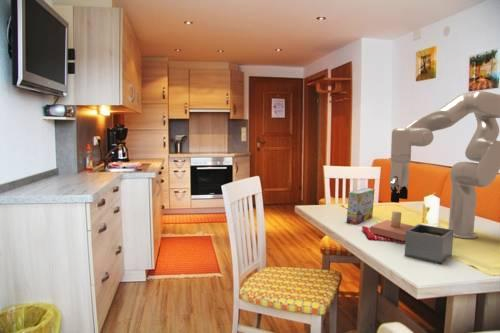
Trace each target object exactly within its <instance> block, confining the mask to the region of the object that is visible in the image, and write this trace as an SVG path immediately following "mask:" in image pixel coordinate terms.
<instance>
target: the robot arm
mask: <svg viewBox="0 0 500 333" xmlns="http://www.w3.org/2000/svg"><path fill="white" fill-rule="evenodd" d="M472 113H473V114H474V117H475V120H476V123H477V124H476V129H475V132H474V133H473V135H472V137H471V139H470V140H469V143H468V144H467V146H466V149H465V152H464V155H465V157H466V158H467V159H468V160H469V161H459V162H456V163H454V164H453V165H452V167H451V168H450V170H449V171H450V172H449V176H450V184H451V185H450V187H451V189H450V190H451V192H450V193H451V194H450V206H449V217H448V229H450V230H454V233H453V238H460V239H467V240H468V239H471V240H472V239H477V238H478V234H477V232H475V220H476V219H475V218H476V208H477V207H476V206H477V196H478V195H477V190H476V187H477V188H487V187H489V186H490V185H491V184H492V183H493V182H494V180H495V179H496V177H497V176H498V174H499V172H500V141H499V140H497V139H498V137H499V135H500V126H499V123H498V121H497V119H500V94H499V93H493V92H490V91H489V92H488V91H484V90H479V91H478V90H477V91H469V92H463V93H461V94H459V95H457V96H456V97H454V98H453V99H451V101H449V102H448V103H446V104H445V105H443V106H442V107H440V108H439V109H437V110H436V111H432V112H431V113H428V114H427V115H425V116H422V117H420V118H419V119H416V120H414V121H413V122H412V123H410V124H409V125H408V126H406V127H405V128H403V127H401V128H394V129H392V131H391V142H390V143H391V147H390V148H391V149H390V163H391V164H390V165H391V166H390V170H389V171H390V172H389V181H388V184H389V187H390V203H396V204H399V203H400V200H408V195H409V193H408V192H409V190H408V189H409V182H410V164H411V162H412V161H411V160H412V159H411V157H412V147H427V146H429V145H430V144H432V142H433V140H434V133H433V132H436V131H440V130H445V129H448V128H451V127H452V126H454V125H455V124H457V123H458V122H459V121H461V120H463V118H465V117H466V116H468V115H470V114H472Z"/></svg>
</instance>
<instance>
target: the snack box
mask: <svg viewBox="0 0 500 333" xmlns="http://www.w3.org/2000/svg"><path fill="white" fill-rule="evenodd" d="M374 198H375V189H374V188H371V187H370V188H369V187H363V188H359V189H355V190H352V191H349V192H348V199H347V209H346V210H347V214H346V223H347V224H351V225H356V226H357V225H359V224H361V223H363V222H366V221H367V220H368V221H369V219H372V218H373V213H374V202H375V200H374Z"/></svg>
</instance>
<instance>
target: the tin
mask: <svg viewBox="0 0 500 333" xmlns="http://www.w3.org/2000/svg"><path fill="white" fill-rule="evenodd" d="M413 226H414V227H412V228H410V229H409V230H407V231H406V240H405V243H404V255H403V256H404V257H407V258H411V259H417V260H420V261H425V262H429V263H433V264H438V265H442V264H443V263H445V262H446V261H447V260H448V258H450V257H451V256H452V254H453V246H454V245H453V243H454V237H453V233H454V230H450V229H449V228H443V227H439V226H433V225H427V224H426V225H425V224H419V223H418V224H416V225H413Z"/></svg>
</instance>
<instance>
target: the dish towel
mask: <svg viewBox="0 0 500 333" xmlns="http://www.w3.org/2000/svg"><path fill="white" fill-rule="evenodd" d="M361 229H362V230H363V232H364V234H365V236H366V239H367V240H368V241H376V242H389V243H390V242H392V243H404V244H405V241H402V240H398V239H394V238H390V237H386V236H382V235H378V234H374V233H370V229H371V226H370V227H369V226H364V225H362V226H361Z"/></svg>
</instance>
